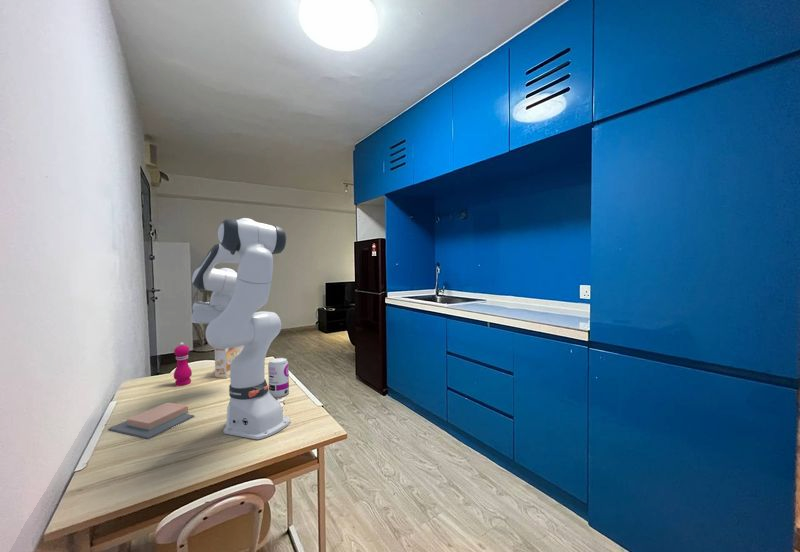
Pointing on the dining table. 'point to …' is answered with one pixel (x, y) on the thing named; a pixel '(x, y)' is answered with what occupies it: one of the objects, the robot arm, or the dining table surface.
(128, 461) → the dining table surface
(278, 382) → the supplement can
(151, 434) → the mat
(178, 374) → the pepper mill
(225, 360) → the coffeecake box
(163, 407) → the tile
